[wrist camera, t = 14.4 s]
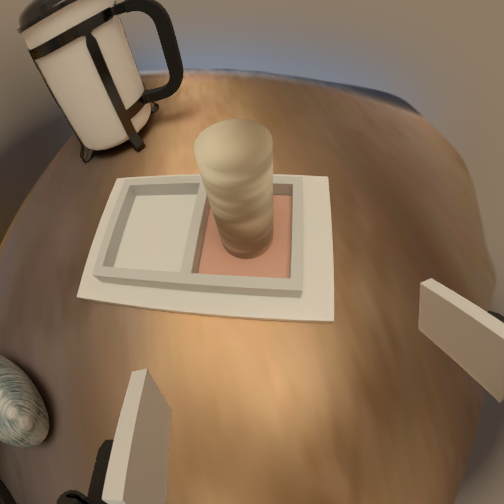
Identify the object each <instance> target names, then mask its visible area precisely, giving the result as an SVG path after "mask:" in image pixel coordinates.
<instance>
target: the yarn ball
mask: <svg viewBox="0 0 504 504" xmlns="http://www.w3.org/2000/svg"><path fill="white" fill-rule="evenodd" d="M48 430H49V417H48V413H47V410H46V408H45V405H44V401H43V400H42V398H41V396H40V394H39V392H38V390H37V389H36V387H35V385H34V384H33V382H32V381H31V380H30V379H29V377H28V376H27V375H26V373H25V372H24V371H23V370H22V369H21V368H20V367H18V366H17V365H16V364H14V363H13V362H12V361H10V360H8V359H7V358H5V357H3V356H2V355H0V441H1V442H4V443H6V444H9V445H12V446H15V447H24V448H28V447H34V446H36V445H39V444H40V443H41V442H42V441H43V440H44V439H45V438H46V436H47V434H48Z"/></svg>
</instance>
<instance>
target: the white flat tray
mask: <svg viewBox="0 0 504 504" xmlns="http://www.w3.org/2000/svg"><path fill="white" fill-rule="evenodd" d="M77 297H78V298H79V299H82V300H88V301H94V302H100V303H106V304H112V305H119V306H126V307H133V308H140V309H148V310H156V311H164V312H173V313H182V314H191V315H201V316H212V317H224V318H236V319H250V320H266V321H285V322H310V323H333V322H334V270H333V243H332V224H331V208H330V195H329V183H328V177H322V176H303V175H277V174H273V241H272V244H271V246H270V247H269V249H268V250H267V251H266V252H265V253H264V254H262V255H260V256H258V257H256V258H252V259H240V258H237V257H234V256H232V255H231V254H229V253H228V252H227V251H226V249H225V248H224V246H223V244H222V241H221V238H220V234H219V231H218V228H217V225H216V222H215V219H214V216H213V213H212V209H211V206H210V203H209V200H208V197H207V193H206V190H205V187H204V184H203V180H202V177H201V174H190V175H164V176H146V177H131V178H117V180H116V182H115V185H114V187H113V190H112V192H111V194H110V197H109V199H108V202H107V204H106V207H105V210H104V212H103V215H102V218H101V220H100V223H99V226H98V229H97V231H96V234H95V237H94V240H93V243H92V246H91V249H90V252H89V256H88V259H87V262H86V265H85V269H84V272H83V276H82V279H81V283H80V286H79V290H78V294H77Z"/></svg>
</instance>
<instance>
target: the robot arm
mask: <svg viewBox="0 0 504 504" xmlns="http://www.w3.org/2000/svg"><path fill="white" fill-rule="evenodd" d="M418 329H419V330H420V331H421V332H422V333H423V334H425V335H426V336H427V337H428V338H429V339H430V340H432V341H433V342H434V343H435V344H436V345H437V346H438V347H440V348H441V349H442V350H443V351H444V352H445V353H446V354H448V355H449V356H450V357H451V358H452V359H453V360H454V361H455V362H457V363H458V364H459V365H460V366H461V367H462V368H463V369H464V370H465V371H466V372H468V373H469V374H470V375H471V376H472V377H473V378H474V379H475V380H476V381H477V382H478V383H480V384H481V385H482V386H483V387H484V388H485V389H486V390H487V391H488V392H489V393H490V394H491V395H492V396H493V397H494V398H495V399H497V400H498V401H499V402H501V401H502V400H504V317H503V316H502V315H500V314H498V313H495V312H492V311H488V312H486V311H484V310H483V309H481V308H480V307H478V306H476V305H475V304H473V303H472V302H470V301H468V300H467V299H465V298H464V297H462V296H460V295H459V294H457V293H455V292H454V291H452V290H450V289H449V288H447V287H445V286H444V285H442V284H440V283H438V282H437V281H435V280H433V279H432V278H431V279H428V280H426V281H424V282H422V283H420V307H419V325H418ZM171 411H172V409H171V408H170V406H169V405H168V403H167V401H166V400H165V398H164V396H163V395H162V393H161V392H160V390H159V388H158V386H157V385H156V383H155V381H154V380H153V378H152V376H151V374H150V373H149V371H148V369H143V370H138V371H132V374H131V378H130V381H129V385H128V388H127V392H126V395H125V399H124V402H123V406H122V410H121V414H120V417H119V421H118V425H117V429H116V433H115V437H114V440H105V441H104V443H103V444H102V446H101V447H100V448H99V450H98V454H97V458H96V461H97V462H95V466H94V469H95V470H93V474H92V479H91V483H90V487H89V492H88V497H86V496H85V495H83V494H82V493H81V492H78V491H76V490H69V491H67V492H64V493H63V494H62V495H61V496H60V497H59V499H58V500H57V504H166V491H167V467H168V450H169V435H170V422H171ZM0 504H15V502H14V500H13V499H12V497H11V495H10V494H9V492H8V491H7V489H6V488H5V486H4V485H3V484H2V482H1V481H0Z"/></svg>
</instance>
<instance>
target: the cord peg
mask: <svg viewBox="0 0 504 504" xmlns="http://www.w3.org/2000/svg"><path fill="white" fill-rule="evenodd" d="M194 154H195V158H196V161H197V164H198V167H199V171H200V174H201V177H202V180H203V184H204V187H205V190H206V193H207V197H208V200H209V203H210V206H211V209H212V213H213V216H214V219H215V222H216V225H217V228H218V231H219V234H220V238H221V241H222V244H223V246H224V248H225V249H226V251H227V252H228V253H229V254H231V255H232V256H234V257H237V258H240V259H252V258H256V257H258V256H260V255H262V254H264V253H265V252H266V251H267V250H268V249H269V247H270V246H271V244H272V241H273V146H272V136H271V134H270V132H269V131H268V129H267V128H266V127H264V126H263V125H261V124H260V123H257V122H255V121H252V120H248V119H228V120H224V121H220V122H217V123H215V124H213V125H211V126H209V127H208V128H206V129H205V130H203V131H202V132H201V133H200V135H199V136H198V137H197V139H196V141H195V143H194Z"/></svg>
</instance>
